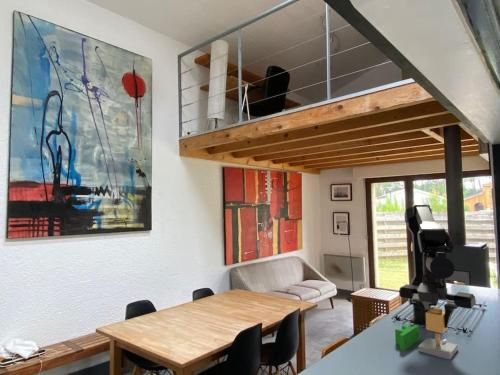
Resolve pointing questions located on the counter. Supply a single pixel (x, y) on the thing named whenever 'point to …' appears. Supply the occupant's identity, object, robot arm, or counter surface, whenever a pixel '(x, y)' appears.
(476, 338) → the counter surface
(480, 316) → the counter surface
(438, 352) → the plate
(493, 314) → the counter surface
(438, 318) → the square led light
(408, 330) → the pipe clamp
